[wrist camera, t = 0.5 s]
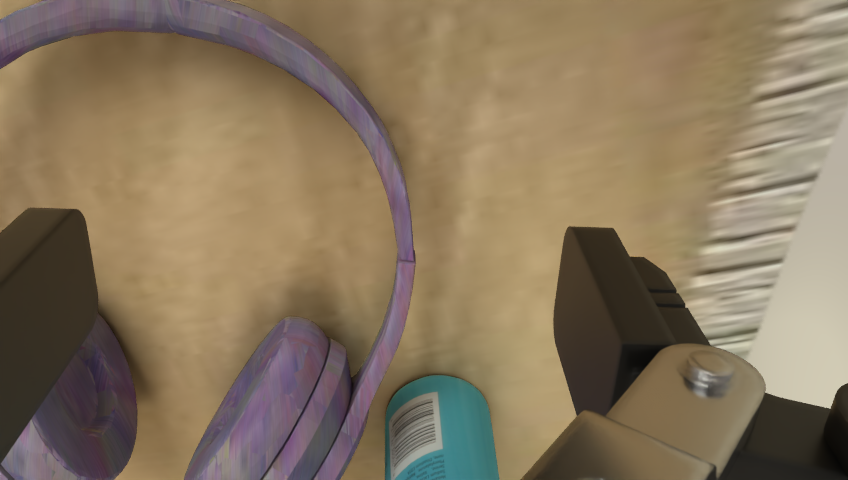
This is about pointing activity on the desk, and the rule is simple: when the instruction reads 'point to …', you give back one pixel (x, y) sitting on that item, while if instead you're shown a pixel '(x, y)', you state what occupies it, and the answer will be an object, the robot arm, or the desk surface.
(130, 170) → the desk surface
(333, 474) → the headphones
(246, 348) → the desk surface
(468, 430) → the tube
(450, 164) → the desk surface
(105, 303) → the desk surface
